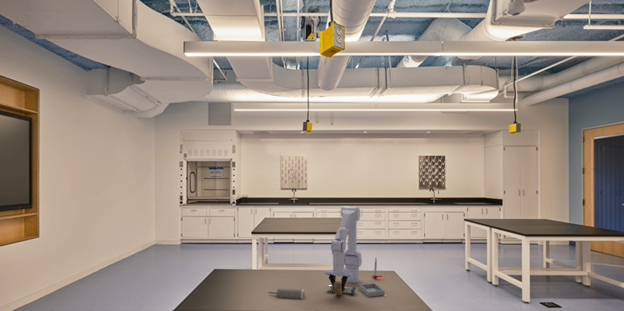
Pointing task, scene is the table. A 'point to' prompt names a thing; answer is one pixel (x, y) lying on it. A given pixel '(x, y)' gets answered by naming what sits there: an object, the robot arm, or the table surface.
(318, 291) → the table surface
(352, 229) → the robot arm
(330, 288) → the crank lever
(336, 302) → the table surface
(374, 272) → the tow hook
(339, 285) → the block
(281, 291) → the motor
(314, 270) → the table surface
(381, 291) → the tray
